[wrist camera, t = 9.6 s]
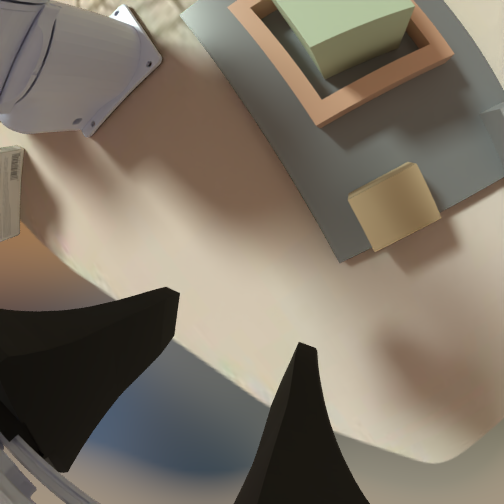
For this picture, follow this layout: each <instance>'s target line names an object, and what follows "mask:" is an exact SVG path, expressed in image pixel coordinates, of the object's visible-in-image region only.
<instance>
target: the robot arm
mask: <svg viewBox="0 0 504 504" xmlns="http://www.w3.org/2000/svg"><path fill="white" fill-rule="evenodd" d="M118 13H119V14H118ZM161 61H162V57H161V55H160V53H159V52H158V50H157V49H156V47H155V46H154V44H153V43H152V41H151V40H150V38H149V37H148V35H147V34H146V32H145V31H144V29H143V28H142V26H141V25H140V23H139V22H138V21H137V19H136V18H135V16H134V15H133V13H132V12H131V10H130V9H129V7H128V6H127V5H125V4H122V5H120V6H119V7H118V8H117V9H116V10H115V11H114V12H113V13H112V14H111V15H110V16H109V17H107V16H104V15H101V14H98V13H95V12H92V11H89V10H86V9H82V8H79V7H75V6H72V5H68V4H64V3H61V2H57V1H53V0H0V121H1V122H2V124H3V125H5V126H6V127H7V128H9V129H11V130H13V131H16V132H19V133H24V134H35V133H46V132H58V131H73V130H82V132H83V135H84V136H85V137H91V136H92V135H93V134H94V132H95V131H96V130H97V129H98V128H99V126H100V125H101V124H102V123H103V122H104V121H105V120H106V118H107V117H108V116H109V115H110V114H111V113H112V112H113V111H114V110H115V108H116V107H117V106H118V105H119V104H120V103H121V102H122V101H123V100H124V99H125V98H126V97H127V96H128V95H129V94H130V93H131V92H132V91H133V90H134V89H135V88H136V87H137V86H138V85H139V84H140V83H141V82H142V81H143V80H144V79H145V78H146V77H147V76H148V75H149V74H150V73H151V72H152V71H153V70H154V69H155V68H156V67H158V66H159V65H160V63H161ZM151 62H152V65H151V66H150V67H149V64H150V63H151ZM94 123H95V125H94ZM179 296H180V293H178V292H176V291H174V290H172V289H170V288H167V287H163V288H159V289H155V290H152V291H148V292H145V293H142V294H138V295H135V296H131V297H128V298H124V299H121V300H117V301H113V302H108V303H104V304H100V305H96V306H91V307H85V308H79V309H71V310H62V311H41V312H33V311H14V310H4V309H0V504H36V503H35V502H34V501H32V500H31V498H30V497H31V495H32V494H33V493H34V492H35V491H36V487H35V486H34V485H33V484H32V483H31V482H30V481H29V480H28V479H27V478H26V477H25V476H24V474H23V473H22V472H21V471H20V470H19V469H18V467H17V466H16V465H15V463H14V462H13V461H12V460H11V459H10V458H9V457H8V456H7V454H6V453H5V452H4V451H3V449H4V446H5V447H6V448H7V449H8V450H9V451H10V452H11V453H12V455H13V456H14V457H15V458H16V459H17V460H18V461H19V462H20V463H21V464H22V465H23V466H24V467H25V468H26V469H27V470H28V471H29V472H31V474H33V475H34V476H35V477H36V478H37V479H38V480H39V481H40V482H41V483H42V484H43V485H44V486H46V487H47V488H48V489H49V490H50V491H51V492H53V493H54V494H55V495H56V496H58V497H59V498H60V499H61V500H62V501H64V502H65V503H66V504H100V503H98V502H97V501H95V500H94V499H93V498H91V497H90V496H88V495H87V494H86V493H84V492H83V491H82V490H80V489H79V488H78V487H76V486H75V485H74V484H72V483H71V482H70V481H68V480H67V479H66V478H65V477H63V476H62V475H61V474H60V473H59V472H63V473H64V472H68V471H69V469H70V467H71V465H72V464H73V462H74V460H75V459H76V457H77V455H78V453H79V452H80V450H81V448H82V447H83V445H84V444H85V442H86V441H87V439H88V438H89V436H90V435H91V433H92V432H93V430H94V429H95V428H96V426H97V425H98V423H99V422H100V421H101V419H102V418H103V417H104V415H105V414H106V413H107V411H108V410H109V409H110V407H111V406H112V405H113V404H114V402H115V401H116V400H117V398H118V397H119V396H120V395H121V394H122V393H123V391H125V390H126V388H128V387H129V385H131V384H132V382H134V381H135V380H136V379H137V378H138V377H139V375H141V374H142V373H143V372H144V371H145V370H146V369H147V367H148V366H150V364H151V363H152V362H153V361H154V360H155V359H156V358H157V357H158V356H159V355H160V354H161V353H162V352H163V350H164V349H165V348H166V346H167V345H168V343H169V342H170V341H171V339H172V338H173V336H174V334H175V326H176V318H177V311H178V303H179ZM3 445H4V446H3ZM234 504H370V503H369V502H368V500H367V499H366V498H365V496H364V495H363V493H362V492H361V490H360V488H359V486H358V485H357V483H356V482H355V480H354V478H353V476H352V474H351V472H350V470H349V468H348V466H347V464H346V462H345V460H344V458H343V456H342V453H341V451H340V448H339V446H338V443H337V441H336V438H335V435H334V433H333V430H332V427H331V424H330V420H329V417H328V413H327V410H326V406H325V401H324V397H323V392H322V387H321V382H320V375H319V368H318V356H317V350H316V348H314V347H311V346H309V345H306V344H303V343H301V342H299V343H298V345H297V348H296V350H295V352H294V354H293V357H292V359H291V361H290V363H289V365H288V368H287V370H286V372H285V374H284V376H283V379H282V381H281V383H280V385H279V388H278V390H277V393H276V395H275V398H274V400H273V402H272V405H271V408H270V412H269V415H268V418H267V422H266V425H265V429H264V432H263V435H262V438H261V441H260V444H259V448H258V451H257V454H256V456H255V459H254V462H253V464H252V467H251V469H250V471H249V473H248V475H247V477H246V480H245V482H244V484H243V486H242V488H241V490H240V492H239V494H238V496H237V498H236V501H235V503H234Z"/></svg>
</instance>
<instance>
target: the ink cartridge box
mask: <svg viewBox="0 0 504 504" xmlns="http://www.w3.org/2000/svg"><path fill="white" fill-rule="evenodd" d="M23 156H24V149H23V148H21V147H19V146H17V145H16V146H9V147H3V148H0V242H1V241H4V240H6V239H9V238H12V237H15V236H17V235H19V234H20V194H21V178H22V167H23Z"/></svg>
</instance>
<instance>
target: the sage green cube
mask: <svg viewBox="0 0 504 504" xmlns="http://www.w3.org/2000/svg"><path fill="white" fill-rule="evenodd" d="M272 1H273V3H274V4H275V6H276V7H277V9H278V10H279V12H280V14H281V15H282V17H283V18H284V19H285V21H286V22H287V24H288V25H289V26H290V28H291V29H292V30H293V32H294V33H295V35H296V36H297V38H298V39H299V41H300V42H301V43H302V45H303V46H304V48H305V49H306V51H307V52H308V54H309V55H310V57H311V59H312V60H313V62H314V63H315V65H316V66H317V68H318V70H319V71H320V73H321V74H322V76H323V78H324V79H327V78H329V77H332V76H334V75H336V74H338V73H340V72H342V71H345V70H347V69H349V68H351V67H354V66H356V65H358V64H361V63H363V62H365V61H368V60H370V59H372V58H375V57H377V56H380V55H382V54H385V53H387V52H390V51H392V50H395V49H398V48H399V45H400V43H401V40H402V38H403V36H404V33H405V31H406V28H407V26H408V23H409V20H410V18H411V15H412V13H413V10H414V8H415V5H414V4H413V3H412V1H411V0H272Z"/></svg>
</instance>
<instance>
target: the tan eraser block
mask: <svg viewBox="0 0 504 504" xmlns="http://www.w3.org/2000/svg"><path fill="white" fill-rule="evenodd" d="M348 202H349V203H350V205H351V207H352V209H353V211H354V213H355V215H356V217H357V218H358V220H359V222H360V224H361V226H362V228H363V230H364V232H365V234H366V236H367V238H368V240H369V242H370V244H371V246H372V248H373V250H374V252H376V251H378V250H380V249H382V248H384V247H386V246H389V245H391V244H393V243H395V242H396V241H398V240H400V239H402V238H404V237H406V236H408V235H410V234H412V233H414V232H416V231H418V230H420V229H422V228H424V227H426V226H428V225H430V224H431V223H433V222H435V221H437V220H439V219H441V216H440V213H439V211H438V208H437V206H436V204H435V201H434V199H433V197H432V195H431V193H430V190H429V188H428V186H427V184H426V182H425V180H424V178H423V176H422V173H421V171H420V169H419V167H418V165H417V164H416V163H412V162H406V163H405V164H403V165H401V166H399V167H397V168H395V169H393V170H391V171H390V172H388V173H386V174H384V175H382V176H380V177H378V178H376V179H375V180H373V181H371V182H369V183H367V184H365V185H363V186H362V187H360V188H358V189H356V190H354V191H352V192H350V193H349V194H348Z"/></svg>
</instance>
